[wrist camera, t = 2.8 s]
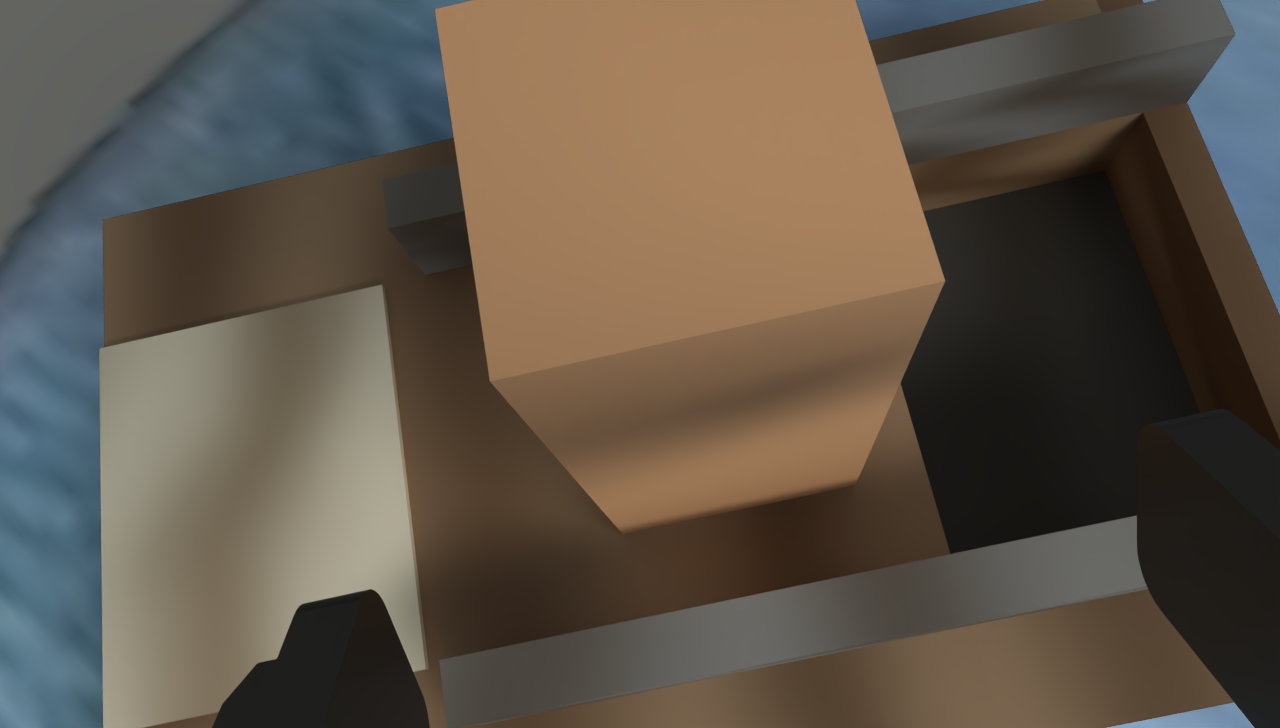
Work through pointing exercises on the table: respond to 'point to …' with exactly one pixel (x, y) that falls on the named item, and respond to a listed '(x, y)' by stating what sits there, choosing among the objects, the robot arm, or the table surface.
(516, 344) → the block
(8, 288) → the table surface
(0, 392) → the table surface
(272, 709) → the robot arm
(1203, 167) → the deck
